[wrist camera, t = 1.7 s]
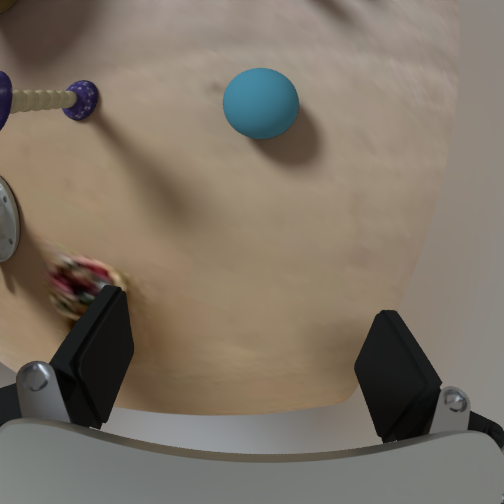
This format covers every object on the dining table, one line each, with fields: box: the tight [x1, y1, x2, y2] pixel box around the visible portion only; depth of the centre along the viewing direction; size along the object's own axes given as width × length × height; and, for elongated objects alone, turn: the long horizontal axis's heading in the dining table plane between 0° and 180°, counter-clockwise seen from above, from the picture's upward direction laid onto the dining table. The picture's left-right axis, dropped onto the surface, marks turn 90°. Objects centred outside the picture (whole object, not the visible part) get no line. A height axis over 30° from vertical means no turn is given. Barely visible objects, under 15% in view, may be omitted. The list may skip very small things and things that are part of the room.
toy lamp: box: [0, 71, 98, 130], centre depth 14 cm, size 5×5×17 cm
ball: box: [223, 68, 299, 139], centre depth 21 cm, size 6×6×6 cm
